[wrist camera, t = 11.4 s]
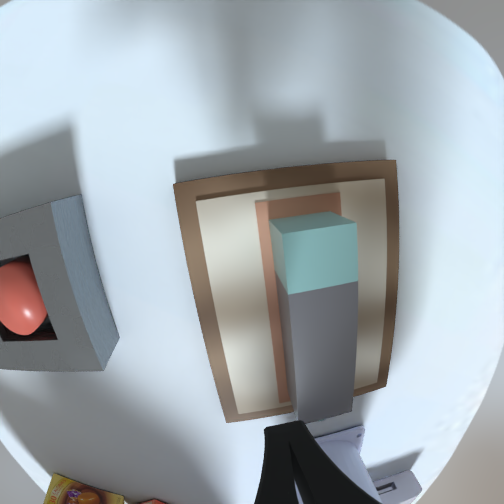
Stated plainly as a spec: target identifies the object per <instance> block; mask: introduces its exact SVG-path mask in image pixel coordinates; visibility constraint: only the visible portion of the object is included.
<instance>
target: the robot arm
mask: <svg viewBox="0 0 504 504" xmlns="http://www.w3.org/2000/svg"><path fill="white" fill-rule="evenodd" d="M364 432H365V429H364V427H363V426H358V427H355V428H351V429H348V430H345V431H341V432H338V433H334V434H330V435H327V436H323V437H319V438H315V439H314V438H313V436H312V435H311V433H310V432H309V430H308V428H307V427H306V425H305V423H304V421H302V420H298V421H294V422H289V423H285V424H280V425H275V426H269V427H266V428H265V429H264V435H265V450H264V460H263V467H262V473H261V479H260V483H259V487H258V491H257V495H256V499H255V502H254V504H383V503H382V501H381V499H380V496H379V494H378V492H377V490H376V488H375V486H374V484H373V482H372V480H371V477H370V475H369V473H368V471H367V469H366V467H365V465H364V463H363V461H362V458H361V456H360V451H361V447H362V442H363V437H364Z"/></svg>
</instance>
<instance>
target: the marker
mask: <svg viewBox="0 0 504 504" xmlns="http://www.w3.org/2000/svg"><path fill="white" fill-rule="evenodd" d="M269 228H270V236H271V244H272V252H273V260H274V269H275V277H276V286H277V295H278V304H279V313H280V322H281V331H282V340H283V350H284V360H285V369H286V379H287V390H288V393H289V397H290V400H291V403H292V406H293V409H294V412H295V415H296V419H297V421H298V420H302V421H304V423H305V424H306V423H310V422H314V421H322V420H325V419H326V418H330V417H334V416H337V415H341V414H344V413H348V412H351V411H352V403H353V393H354V381H355V368H356V352H357V330H358V246H357V224H356V222H354V221H351V220H349V219H347V218H345V217H342V216H340V215H338V214H335V213H333V212H331V211H327V212H320V213H313V214H306V215H299V216H292V217H285V218H278V219H271V220H269Z"/></svg>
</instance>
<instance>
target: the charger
mask: <svg viewBox="0 0 504 504" xmlns="http://www.w3.org/2000/svg"><path fill="white" fill-rule="evenodd" d="M373 484H374V486H375V488H376V490H377V492H378V494H379V496H380V499H381V501H382V503H383V504H411V503H412V502H413V501H414V500H415V498H416V497H417V496H418V495H419V494H420V492H421V491H422V487H421V486H420V484H419V482H418V481H417V479H416V477H415V475H414V474H413V472H412V471H409V470H406V471H404V472H401V473H398V474H395V475H393V476H390V477H387V478H384V479H381V480H378V481H375V482H373Z"/></svg>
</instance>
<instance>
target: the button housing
mask: <svg viewBox="0 0 504 504" xmlns="http://www.w3.org/2000/svg"><path fill="white" fill-rule="evenodd" d="M20 256H29V257H30V261H31V264H32V268H33V271H34V274H35V278H36V281H37V284H38V287H39V290H40V293H41V296H42V299H43V302H44V305H45V308H46V310H47V313H48V317H47V318H46V319H45V320H44V322H43V323H42V324H41V325H40V326H39V327H38V328H37V329H36V330H35V331H34V332H33V333H31V334H29V335H20V334H17V333H15V332H13V331H11V330H9V329H8V328H7V327H6V326H5V325H4V324H3V323H2V322H1V321H0V369H8V370H25V371H104V369H105V367H106V365H107V362H108V360H109V358H110V356H111V354H112V352H113V350H114V348H115V346H116V344H117V342H118V340H119V335H118V332H117V329H116V326H115V323H114V321H113V318H112V315H111V312H110V308H109V305H108V302H107V299H106V296H105V292H104V289H103V286H102V282H101V279H100V275H99V272H98V268H97V264H96V260H95V256H94V252H93V248H92V244H91V240H90V236H89V231H88V227H87V222H86V217H85V212H84V207H83V202H82V196H81V194H80V195H76V196H72V197H68V198H65V199H61V200H57V201H53V202H50V203H46V204H43V205H40V206H36V207H33V208H30V209H27V210H24V211H20V212H17V213H14V214H11V215H8V216H5V217H2V218H0V267H2V266H4V265H5V264H7V263H9V262H11V261H12V260H14V259H16V258H18V257H20Z"/></svg>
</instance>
